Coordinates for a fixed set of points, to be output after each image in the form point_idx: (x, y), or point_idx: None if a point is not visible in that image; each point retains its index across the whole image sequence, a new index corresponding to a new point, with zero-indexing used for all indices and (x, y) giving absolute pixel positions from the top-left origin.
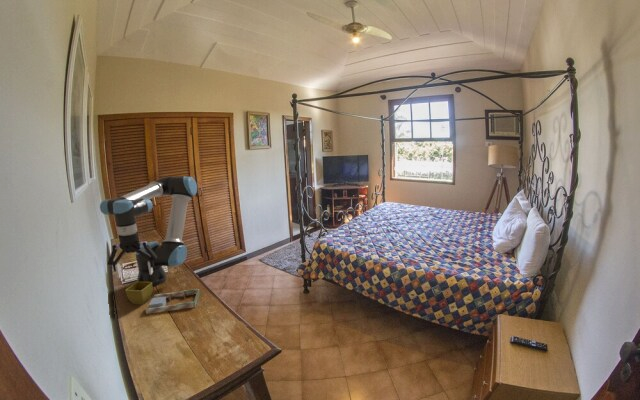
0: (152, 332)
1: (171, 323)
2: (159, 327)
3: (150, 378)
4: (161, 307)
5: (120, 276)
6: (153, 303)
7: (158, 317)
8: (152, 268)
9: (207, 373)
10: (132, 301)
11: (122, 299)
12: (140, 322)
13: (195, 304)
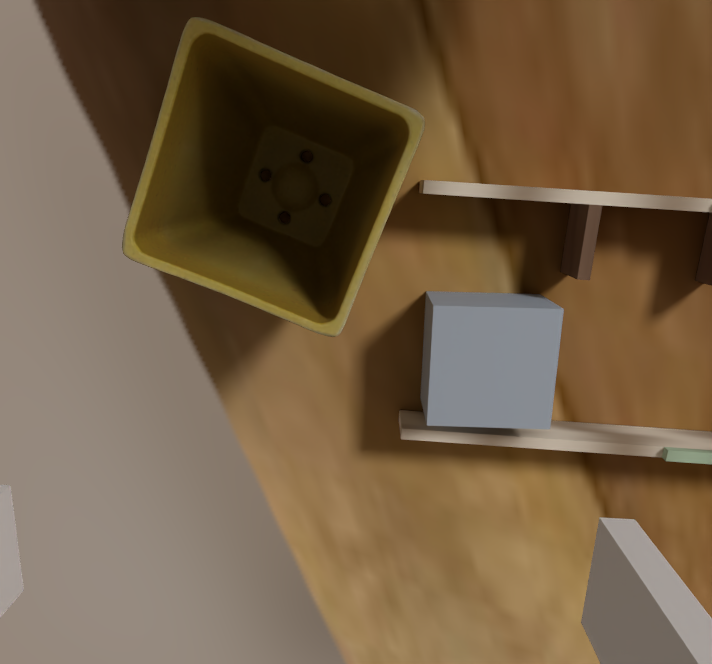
0: (495, 654)
1: None
2: (533, 617)
3: None
4: (534, 448)
5: (9, 550)
6: (467, 414)
7: (505, 498)
8: (680, 591)
9: None
10: (227, 237)
11: (83, 72)
12: (383, 520)
13: None
